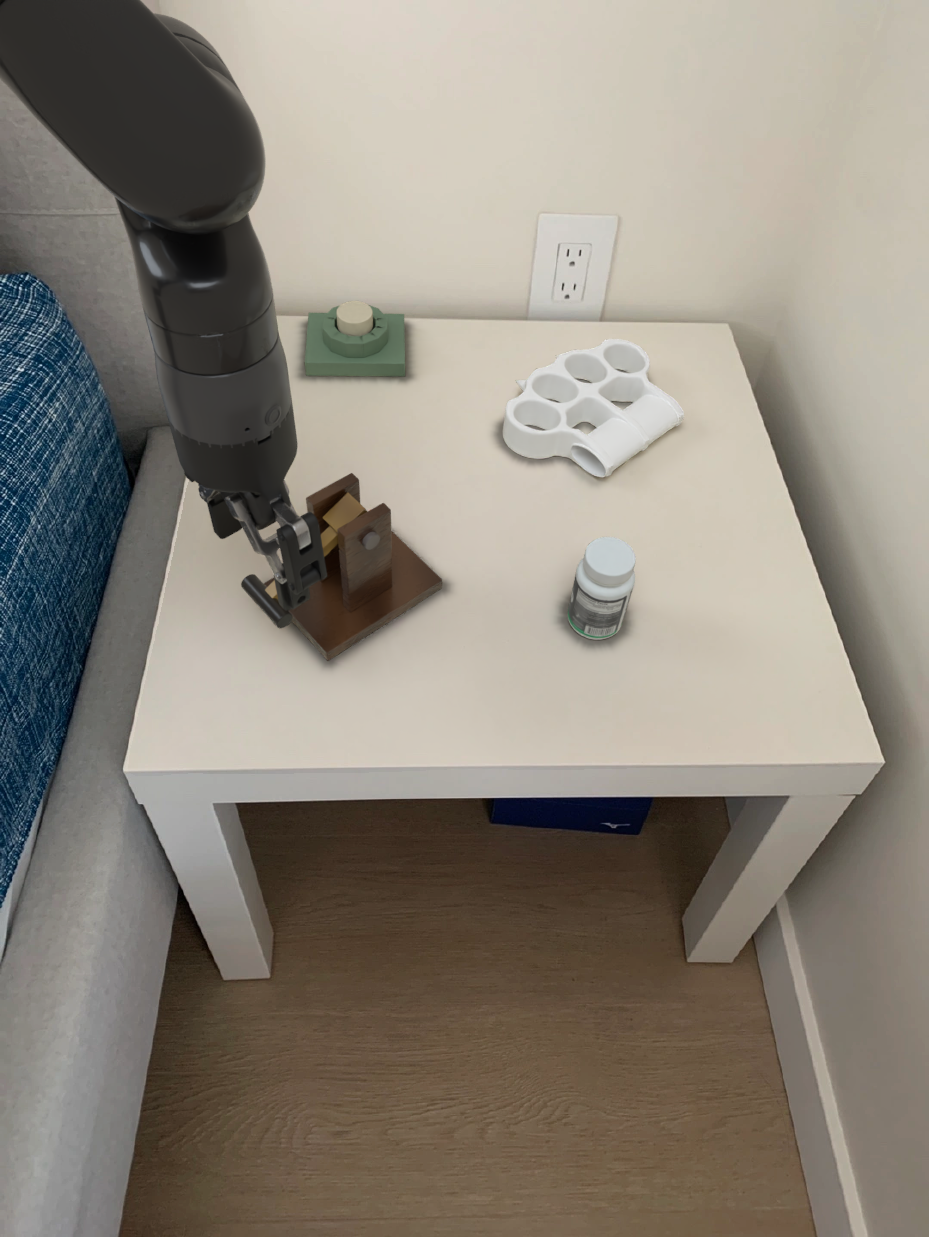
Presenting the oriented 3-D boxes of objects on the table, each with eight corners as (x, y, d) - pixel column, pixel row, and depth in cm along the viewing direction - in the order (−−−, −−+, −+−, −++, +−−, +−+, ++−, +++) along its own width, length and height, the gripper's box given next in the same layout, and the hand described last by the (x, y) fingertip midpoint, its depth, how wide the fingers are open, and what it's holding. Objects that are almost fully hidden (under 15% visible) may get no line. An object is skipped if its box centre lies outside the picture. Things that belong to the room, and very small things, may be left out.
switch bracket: (327, 661, 79) (318, 578, 70) (264, 592, 82) (248, 505, 74) (442, 588, 84) (446, 502, 75) (377, 526, 87) (375, 437, 79)
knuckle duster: (580, 503, 90) (470, 420, 96) (700, 415, 98) (591, 344, 104) (586, 477, 88) (472, 393, 93) (708, 390, 95) (597, 317, 101)
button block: (306, 375, 99) (303, 347, 96) (309, 325, 103) (307, 297, 101) (405, 376, 99) (404, 349, 97) (404, 327, 104) (404, 299, 101)
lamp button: (336, 337, 98) (335, 322, 96) (337, 314, 100) (336, 300, 98) (372, 337, 98) (372, 323, 97) (373, 315, 100) (372, 300, 99)
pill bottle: (590, 587, 85) (606, 522, 78) (633, 619, 83) (654, 556, 76) (554, 618, 82) (568, 554, 76) (598, 651, 81) (615, 589, 74)
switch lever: (285, 632, 76) (271, 623, 73) (249, 592, 78) (234, 582, 75) (387, 532, 76) (376, 519, 74) (348, 494, 78) (337, 481, 76)
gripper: (113, 360, 60) (166, 533, 73) (240, 493, 54) (273, 655, 67) (217, 314, 63) (251, 487, 77) (349, 435, 57) (361, 601, 70)
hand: (261, 566), depth 72 cm, fingers open, 8 cm apart
